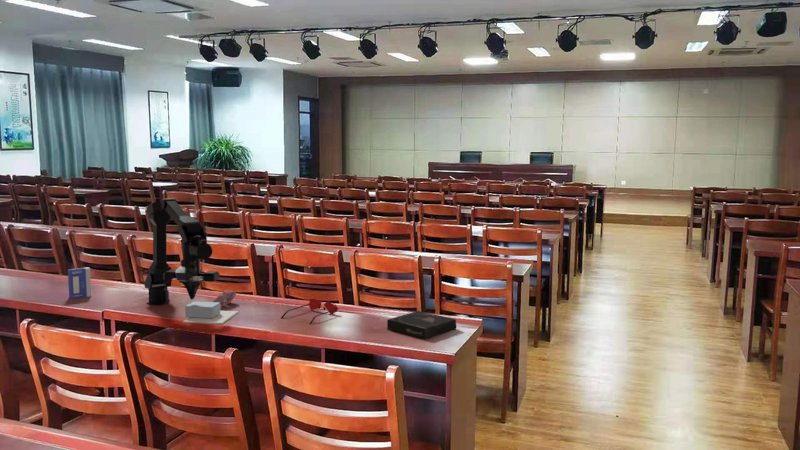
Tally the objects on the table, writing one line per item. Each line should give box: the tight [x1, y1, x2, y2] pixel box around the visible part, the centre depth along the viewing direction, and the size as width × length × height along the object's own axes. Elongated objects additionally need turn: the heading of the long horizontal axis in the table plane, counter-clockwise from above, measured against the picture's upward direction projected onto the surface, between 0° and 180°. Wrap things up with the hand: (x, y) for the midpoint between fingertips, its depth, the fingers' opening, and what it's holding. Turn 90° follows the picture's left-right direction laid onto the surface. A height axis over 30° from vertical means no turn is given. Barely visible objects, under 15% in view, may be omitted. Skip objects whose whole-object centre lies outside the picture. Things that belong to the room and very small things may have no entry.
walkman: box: [67, 266, 92, 300], centre depth 252 cm, size 8×3×12 cm, turn 134°
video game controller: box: [212, 289, 237, 307], centre depth 242 cm, size 10×5×7 cm, turn 161°
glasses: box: [280, 298, 339, 325], centre depth 228 cm, size 14×16×5 cm
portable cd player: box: [386, 310, 457, 341], centre depth 213 cm, size 16×17×4 cm
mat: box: [182, 310, 239, 325], centre depth 224 cm, size 14×16×1 cm
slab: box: [184, 301, 221, 318], centre depth 224 cm, size 4×7×10 cm
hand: (192, 299), depth 224 cm, fingers closed
